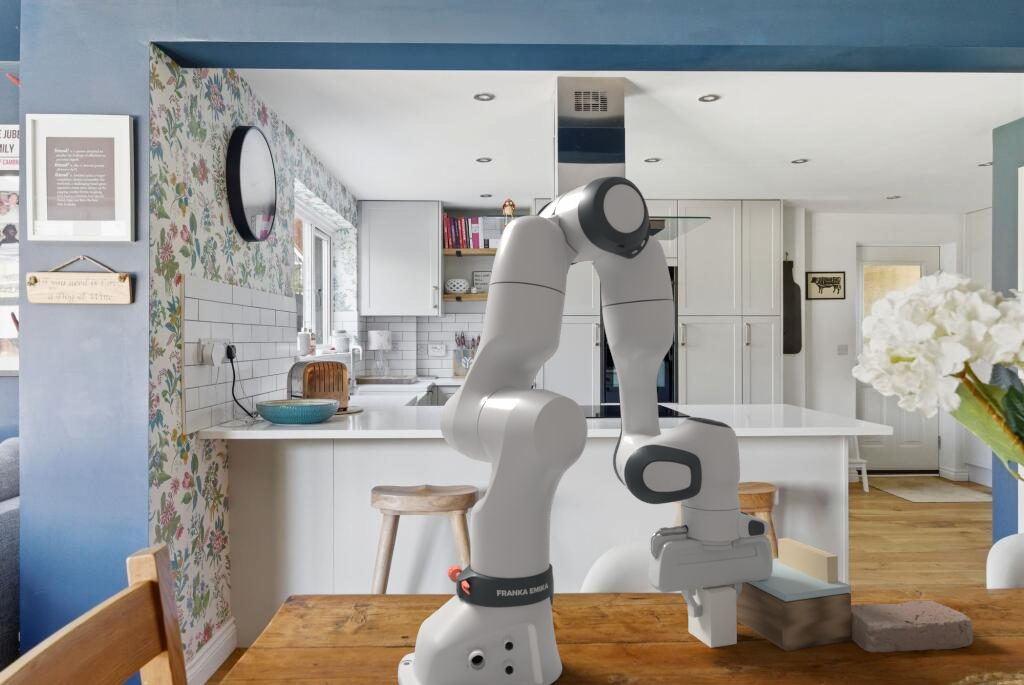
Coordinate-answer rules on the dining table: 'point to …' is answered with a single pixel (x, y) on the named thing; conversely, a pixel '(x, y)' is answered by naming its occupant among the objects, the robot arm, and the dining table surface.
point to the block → (715, 616)
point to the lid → (802, 573)
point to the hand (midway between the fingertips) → (711, 613)
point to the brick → (909, 627)
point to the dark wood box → (795, 618)
